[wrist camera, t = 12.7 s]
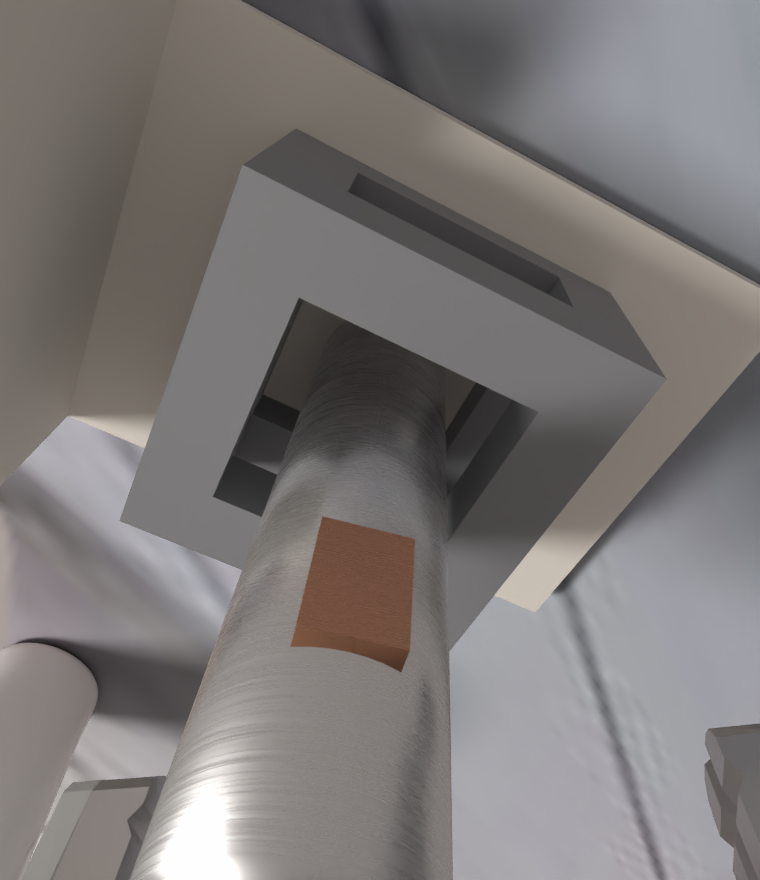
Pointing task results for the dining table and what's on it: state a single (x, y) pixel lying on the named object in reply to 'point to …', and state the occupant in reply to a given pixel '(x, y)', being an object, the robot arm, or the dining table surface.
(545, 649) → the dining table surface
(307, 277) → the stand
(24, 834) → the drinking glass
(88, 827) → the robot arm
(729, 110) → the dining table surface
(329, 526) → the tube
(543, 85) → the dining table surface
